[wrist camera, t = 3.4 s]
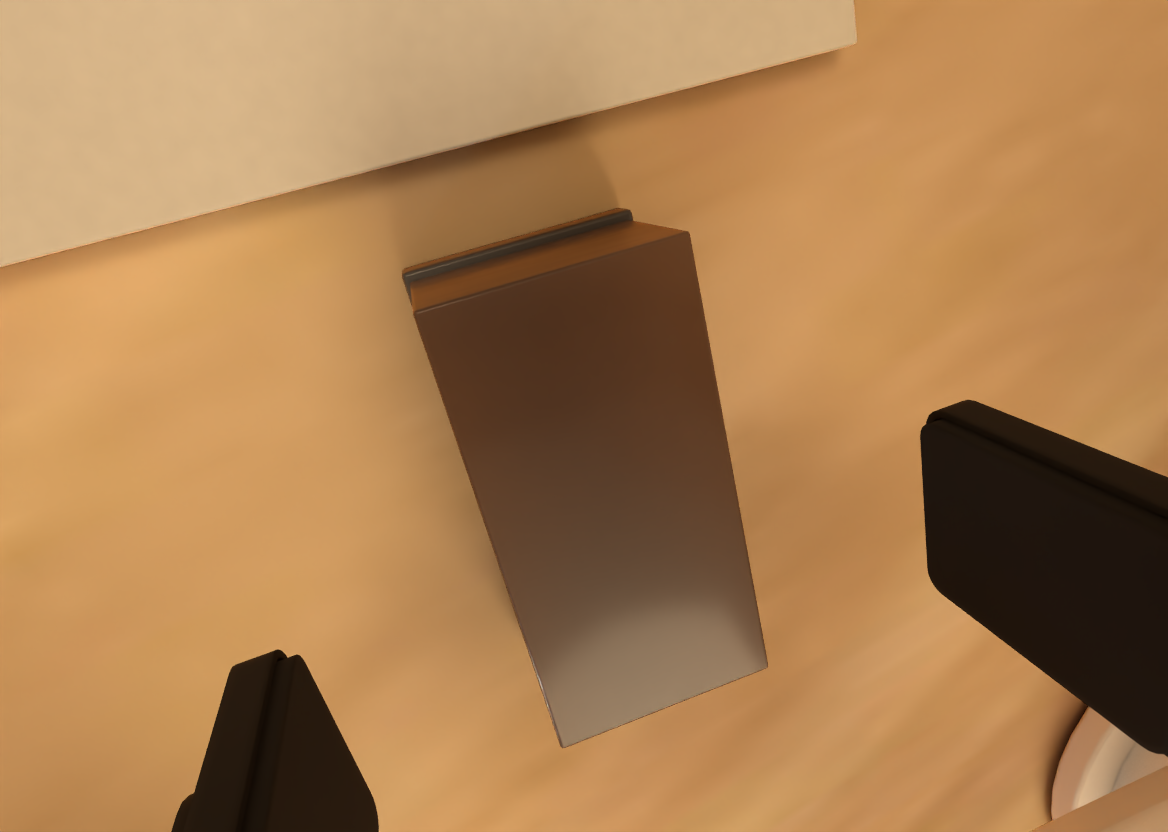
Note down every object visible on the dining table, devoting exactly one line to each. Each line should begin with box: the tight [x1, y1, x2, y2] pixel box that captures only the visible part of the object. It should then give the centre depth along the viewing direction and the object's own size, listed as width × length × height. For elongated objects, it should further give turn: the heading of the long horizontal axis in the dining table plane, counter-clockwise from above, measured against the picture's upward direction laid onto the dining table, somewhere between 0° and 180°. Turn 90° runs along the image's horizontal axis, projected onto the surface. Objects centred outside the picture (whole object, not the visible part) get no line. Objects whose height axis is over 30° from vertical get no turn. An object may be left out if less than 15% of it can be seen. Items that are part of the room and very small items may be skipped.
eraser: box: [402, 208, 768, 748], centre depth 15 cm, size 5×10×4 cm, turn 14°
